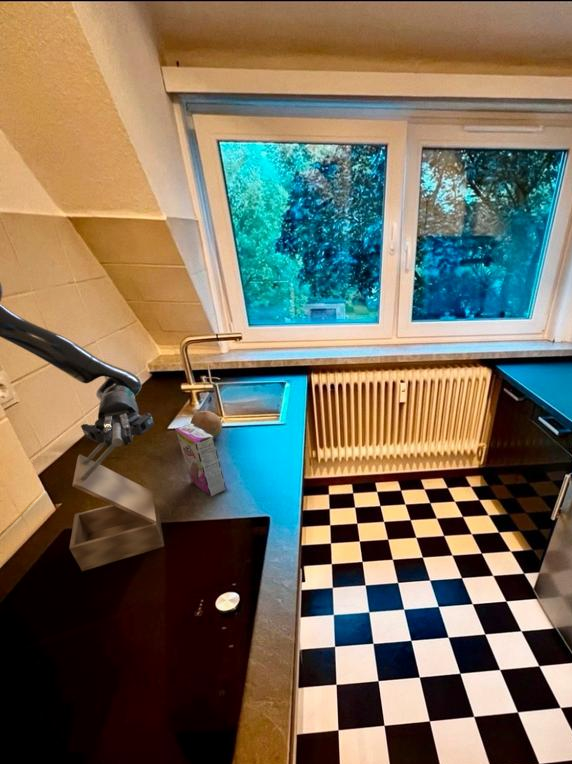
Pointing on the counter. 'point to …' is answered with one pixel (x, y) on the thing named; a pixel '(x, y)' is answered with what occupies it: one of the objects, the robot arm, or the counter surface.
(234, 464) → the counter surface
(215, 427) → the brown round ball
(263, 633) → the counter surface
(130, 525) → the oak box
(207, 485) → the candy bar box
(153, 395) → the counter surface
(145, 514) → the box lid
